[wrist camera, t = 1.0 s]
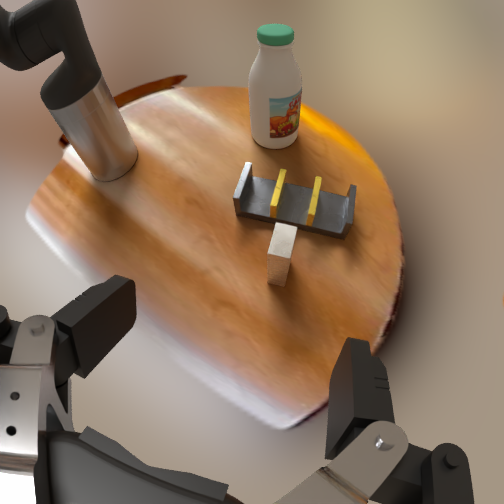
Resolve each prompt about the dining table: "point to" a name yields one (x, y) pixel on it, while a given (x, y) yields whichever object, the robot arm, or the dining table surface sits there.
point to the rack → (294, 204)
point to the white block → (280, 253)
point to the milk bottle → (275, 88)
